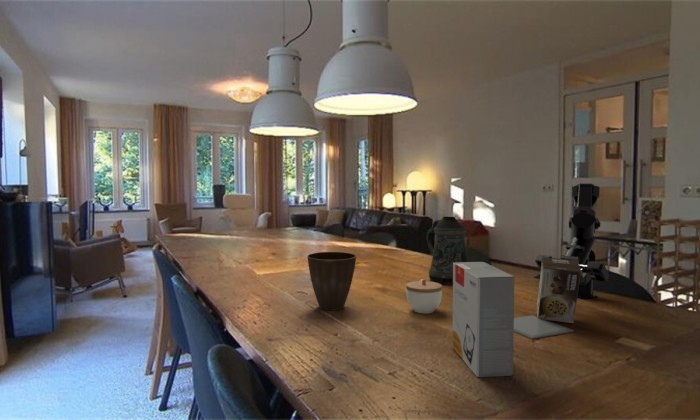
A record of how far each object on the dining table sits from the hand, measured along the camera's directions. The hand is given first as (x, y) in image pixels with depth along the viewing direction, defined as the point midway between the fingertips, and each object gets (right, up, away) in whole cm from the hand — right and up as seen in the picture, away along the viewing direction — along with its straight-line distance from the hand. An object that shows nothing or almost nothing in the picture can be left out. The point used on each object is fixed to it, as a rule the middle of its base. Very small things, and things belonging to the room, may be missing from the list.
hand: (559, 291), depth 121 cm
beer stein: (-21, -5, +49) cm, 54 cm away
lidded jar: (-36, -7, +8) cm, 38 cm away
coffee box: (-2, -7, -1) cm, 7 cm away
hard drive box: (-31, -10, -29) cm, 44 cm away
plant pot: (-64, -7, +12) cm, 66 cm away
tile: (-11, -8, -7) cm, 15 cm away
